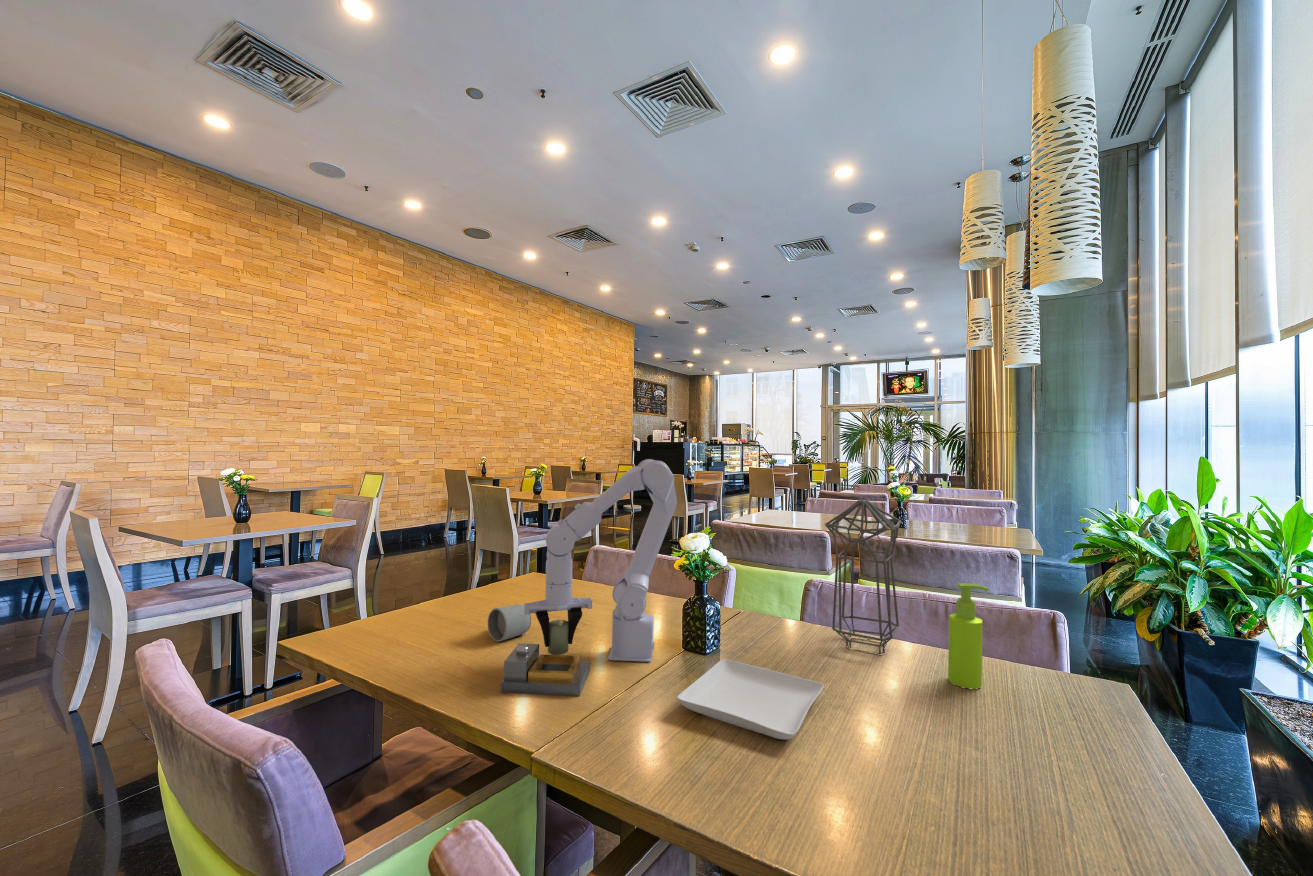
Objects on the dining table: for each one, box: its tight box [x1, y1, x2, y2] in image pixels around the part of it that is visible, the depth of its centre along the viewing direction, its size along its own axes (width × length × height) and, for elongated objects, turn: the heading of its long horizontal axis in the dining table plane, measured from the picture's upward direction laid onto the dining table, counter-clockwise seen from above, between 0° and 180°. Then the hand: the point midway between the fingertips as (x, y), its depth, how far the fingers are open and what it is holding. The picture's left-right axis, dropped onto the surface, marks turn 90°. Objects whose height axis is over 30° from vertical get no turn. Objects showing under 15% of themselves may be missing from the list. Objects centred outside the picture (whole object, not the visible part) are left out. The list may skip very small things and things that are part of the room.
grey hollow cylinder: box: [487, 604, 532, 643], centre depth 129 cm, size 11×8×8 cm
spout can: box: [547, 619, 569, 655], centre depth 114 cm, size 4×6×8 cm
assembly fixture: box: [500, 642, 591, 697], centre depth 105 cm, size 15×11×7 cm
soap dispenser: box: [947, 582, 990, 690], centre depth 107 cm, size 6×7×20 cm
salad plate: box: [676, 658, 825, 740], centre depth 96 cm, size 21×21×3 cm
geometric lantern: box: [824, 499, 903, 655], centre depth 126 cm, size 16×16×35 cm
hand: (558, 644), depth 115 cm, fingers closed on spout can, 4 cm apart
